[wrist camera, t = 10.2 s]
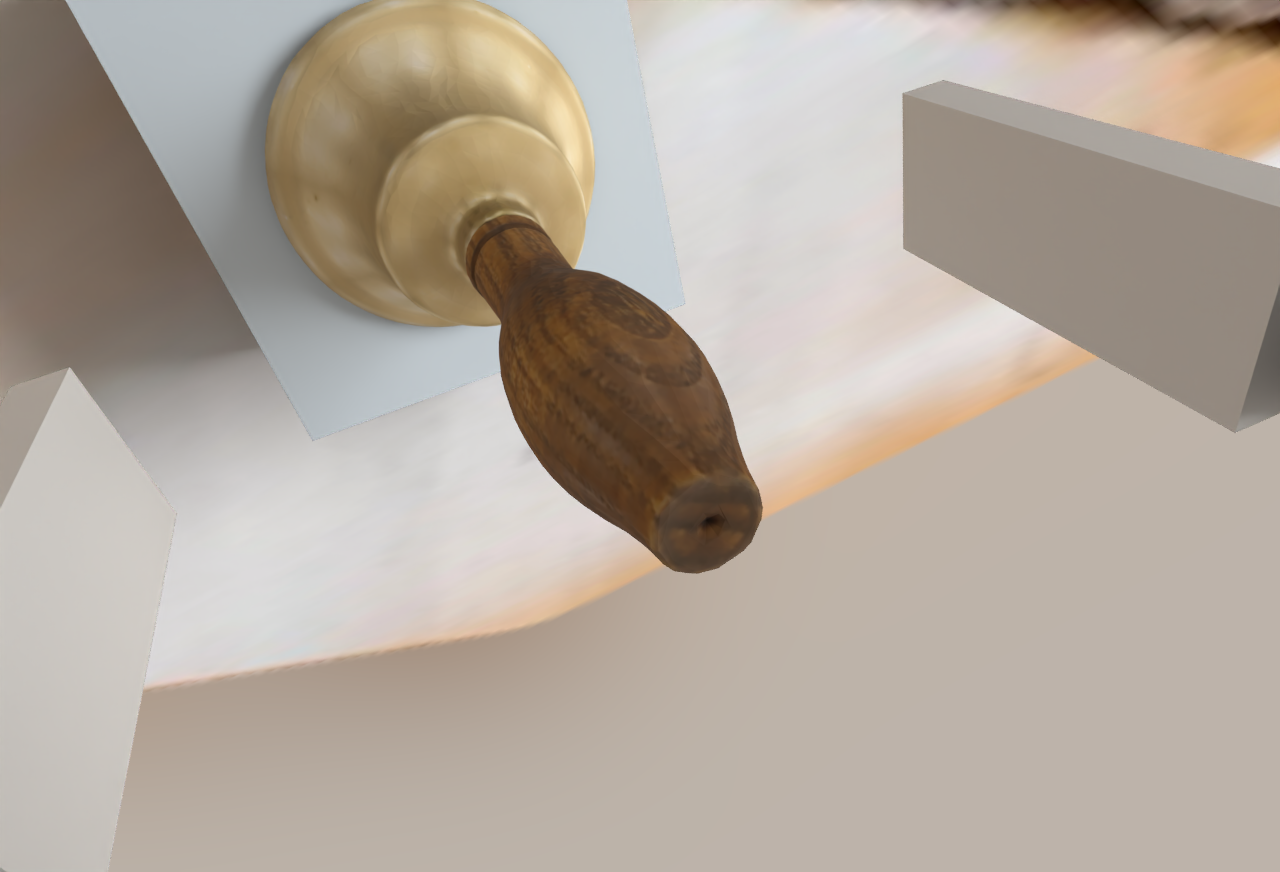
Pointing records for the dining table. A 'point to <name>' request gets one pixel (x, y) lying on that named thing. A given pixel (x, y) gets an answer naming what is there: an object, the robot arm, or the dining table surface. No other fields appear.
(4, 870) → the robot arm
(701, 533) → the hand bell
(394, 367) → the top block
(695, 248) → the dining table surface
